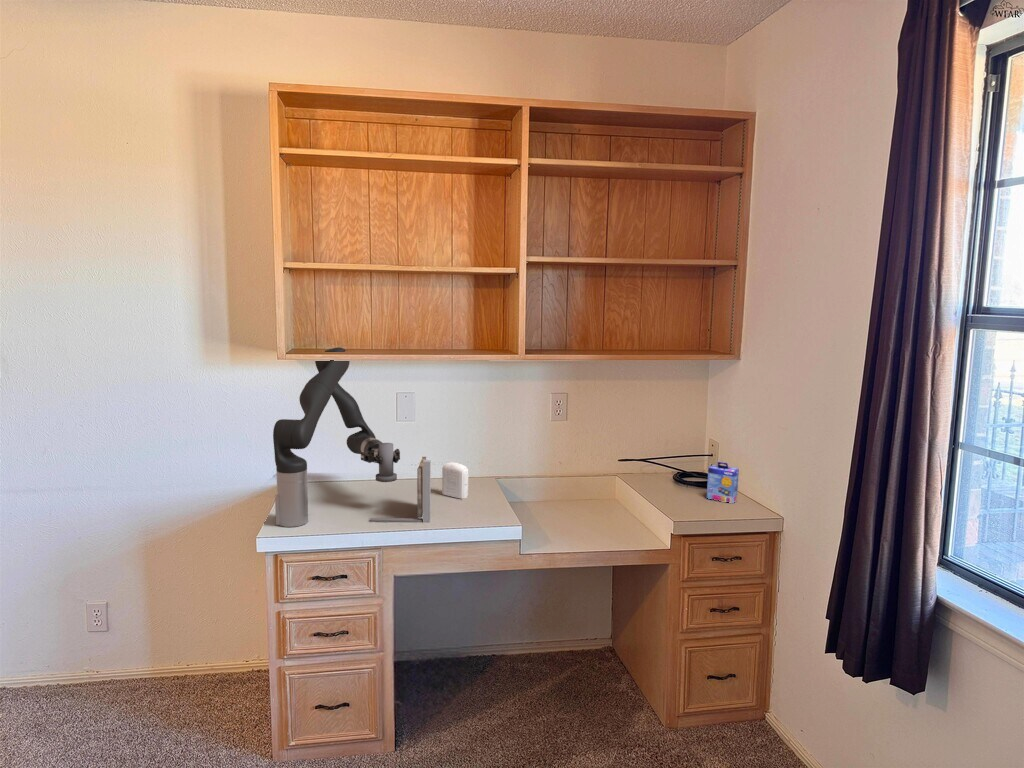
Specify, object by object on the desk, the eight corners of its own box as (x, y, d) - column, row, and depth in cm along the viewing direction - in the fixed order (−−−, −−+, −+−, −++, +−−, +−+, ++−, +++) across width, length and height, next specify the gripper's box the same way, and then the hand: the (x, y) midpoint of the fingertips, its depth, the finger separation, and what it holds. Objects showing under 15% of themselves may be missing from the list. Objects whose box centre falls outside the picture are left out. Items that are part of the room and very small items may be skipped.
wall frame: (369, 522, 224) (368, 461, 222) (370, 519, 227) (370, 459, 224) (429, 522, 225) (429, 461, 222) (430, 520, 227) (430, 460, 225)
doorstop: (374, 482, 231) (373, 446, 230) (377, 476, 238) (377, 441, 237) (395, 482, 232) (395, 446, 230) (397, 476, 239) (397, 442, 237)
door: (422, 501, 241) (422, 456, 239) (430, 502, 242) (430, 456, 239) (417, 517, 225) (417, 469, 223) (426, 517, 225) (426, 469, 223)
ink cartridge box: (705, 499, 255) (707, 460, 253) (710, 496, 260) (712, 458, 258) (732, 504, 250) (735, 465, 248) (737, 500, 254) (739, 462, 252)
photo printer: (469, 497, 253) (470, 463, 251) (462, 500, 250) (462, 466, 248) (447, 492, 259) (447, 459, 257) (440, 495, 255) (440, 461, 254)
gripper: (353, 441, 243) (367, 451, 228) (393, 437, 249) (409, 447, 234) (353, 462, 244) (367, 474, 229) (393, 458, 250) (409, 469, 235)
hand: (388, 460), depth 232 cm, fingers closed on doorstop, 4 cm apart
